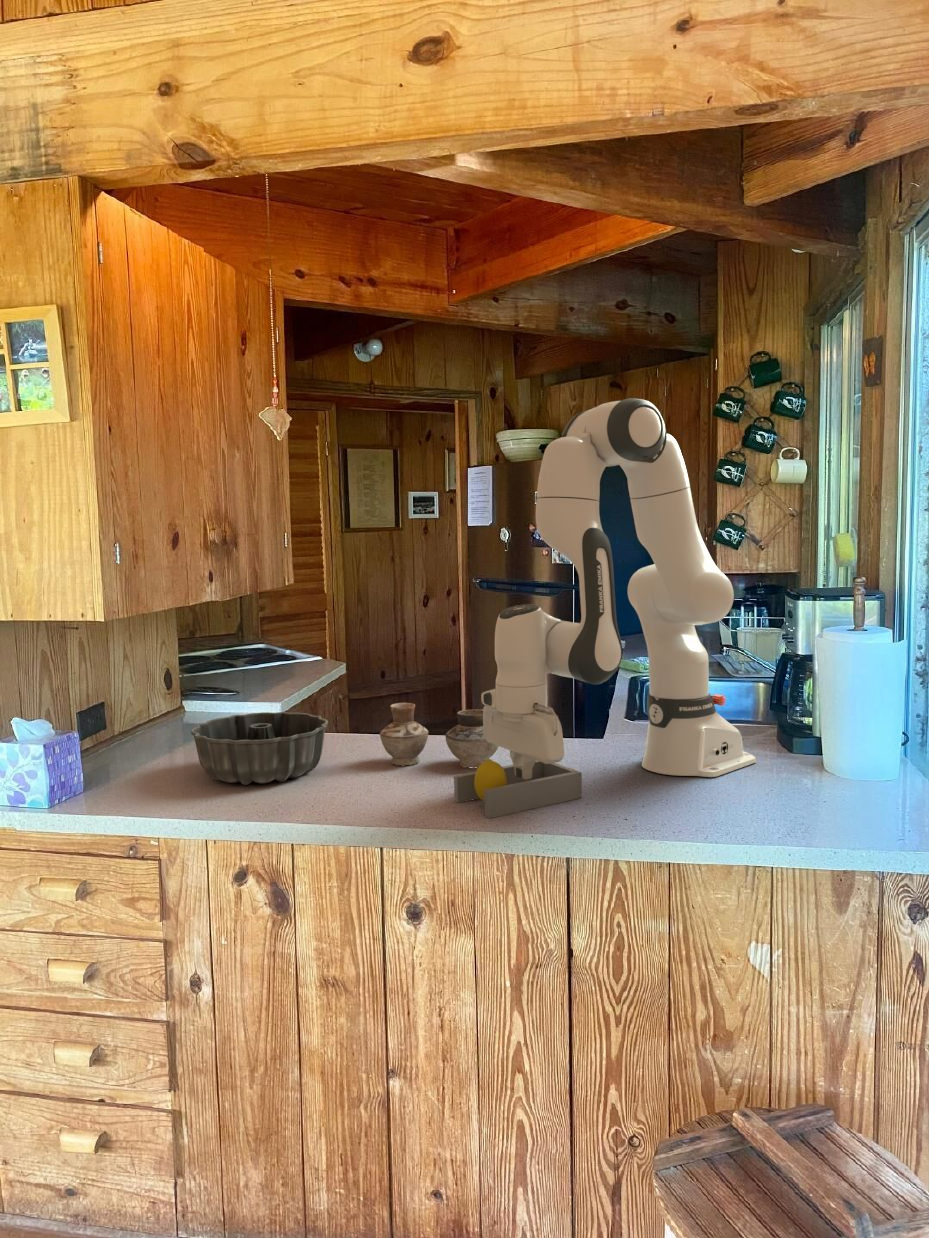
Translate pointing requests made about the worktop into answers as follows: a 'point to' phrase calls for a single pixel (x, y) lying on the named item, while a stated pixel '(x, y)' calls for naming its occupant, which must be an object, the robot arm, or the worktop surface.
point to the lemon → (489, 777)
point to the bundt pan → (260, 746)
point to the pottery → (410, 737)
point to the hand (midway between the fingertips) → (523, 777)
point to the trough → (523, 789)
